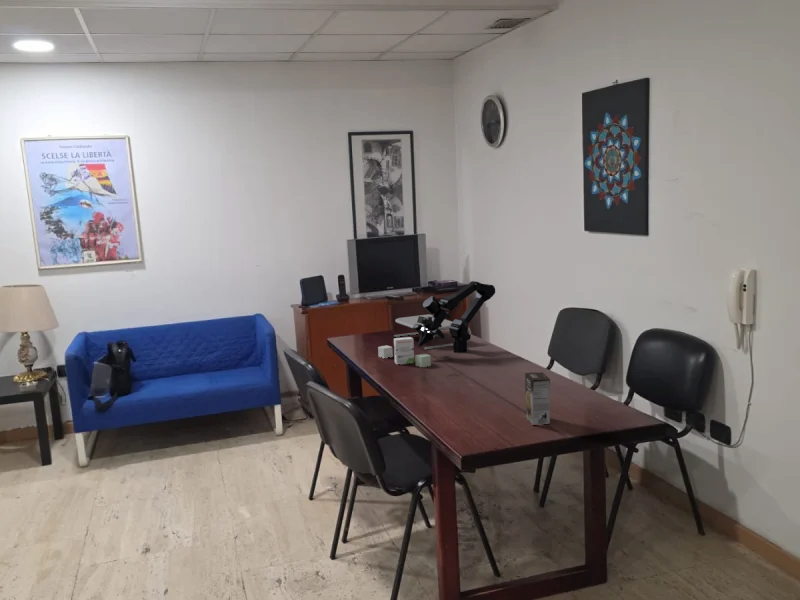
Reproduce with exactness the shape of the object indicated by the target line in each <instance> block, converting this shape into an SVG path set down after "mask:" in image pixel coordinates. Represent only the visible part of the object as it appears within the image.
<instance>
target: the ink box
mask: <svg viewBox="0 0 800 600" xmlns="http://www.w3.org/2000/svg"><path fill="white" fill-rule="evenodd" d="M414 341H415V340H414V338H413V337H411V336H404V337H396V338H393V348H394V349H393V353H394V355H393V357H394V364H396V365H398V364H400V365H409V363H410V364H415V348H414V347H415V346H414V344H415V343H414ZM398 366H399V365H398Z"/></svg>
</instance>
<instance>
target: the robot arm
mask: <svg viewBox="0 0 800 600" xmlns="http://www.w3.org/2000/svg"><path fill="white" fill-rule="evenodd" d="M474 292H476V294H475V295H476V296H475V298H474V299H473V300H472V302H471V303H470V305H469V306H468V307H467V309H466V310H465V311H464V313H463V314H462V316H461V317H460V318H458V319H457V318H454V320H453V321H452V322H453V323H452V324H450V328H449V329H448V330H449V331H448V332H449V334H450V336H451V338H452V339H453V342H452V343H453V346H452V347H453V353H464V352H466V353H468V352H469V350H470V349H469V341H470V340H471V336H472V334H471V335H470V334H469V333H468V327H469V325H470V323H471V322H472V320H473V319H474V317H475V316H476V315H477V313H478V312H479V311H480V309H481V308H482V306H483V305H484V303H486V302H487V301H489V300H490V299H492V297H494V295H495V294H496V288H495V285H493V284H490V283H489V284H488V283H481V282H480V281H475V280H471V281H469V282H468V283H467V284H466V285H465V286H463V287H461V288H460V289H459V290H458V291H456V292H454V293H452V294H450V295H446V296H445V297H442V298H440V300H437V298H436V297H435V296H434V295H433V296H432V295H431V296H430V297H429V298H427V299H425V300H424V301H423V302H422V306H423V308H424V309H425V310H426V311H427V313H428V314H430V315H433V316H432V317H429V316H427V318H426V317H422V316H420V315H418V316H419V317H418V320H417V322H418V323H421V324H423V326H424V327H425V328H424V327H423V326H422V325H420V324H415V325H414V326H413V328H414V329H413V328H412V329H413V330H415V331H416V332H418V333H419V334H418V335H420V336H419V340H418V343H417V346H418V347H422V346H424V345H426V344H427V343H430V342H431V341H434V340H435V337H436V336H437V338H438V340H439V341H443V340H444V339H445V333H444V332H443V331H442V330H440V329H438V328H439V327H442V325H441V324H442V322H443V321H444V319H451V315H450V312H449V311H454V310H455V309H456V308H457V307H458V306H459V304H460V302H462V301H463V300H464V299H466V298H467V297H469V296H470V295H471V294H473V293H474ZM446 310H447V311H446ZM468 340H469V341H468ZM467 351H468V352H467Z"/></svg>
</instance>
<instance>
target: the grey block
mask: <svg viewBox="0 0 800 600" xmlns="http://www.w3.org/2000/svg"><path fill="white" fill-rule="evenodd" d="M377 349H378V351H377V354H378V358H381V357H382V358H381V359H384V358H385V359H389V358H388V357H390V358H393V357H394V355H393V353H394V349H393V347H392V346H390V345H387V344H386V345H381V346H378V347H377Z"/></svg>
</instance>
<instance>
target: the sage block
mask: <svg viewBox="0 0 800 600" xmlns="http://www.w3.org/2000/svg"><path fill="white" fill-rule="evenodd" d="M414 363H415V367H418V366H419V367H418V368H421V367H423V368H427V366H428V367H431V366H432V358H431V355H430V354H428V353H420V354H414Z"/></svg>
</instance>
